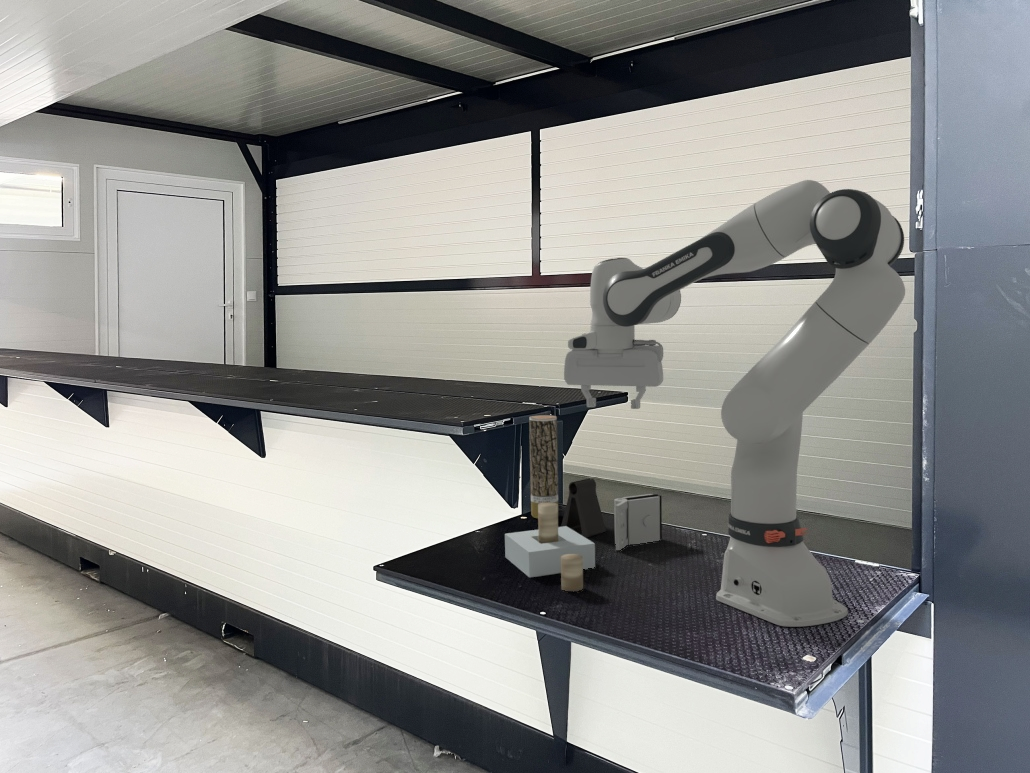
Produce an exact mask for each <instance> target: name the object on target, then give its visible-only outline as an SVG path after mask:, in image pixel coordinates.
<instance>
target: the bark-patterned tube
mask: <svg viewBox="0 0 1030 773" xmlns="http://www.w3.org/2000/svg"><path fill="white" fill-rule="evenodd" d="M528 421H529V423H528V424H529V425H528V426H529V427H528V428H529V430H528V431H529V469H530V470H529V472H530V473H529V474H530V476H529V477H530V480H529V481H530V510H531V511H530V514H531V516H532V518H534V519H537V520H538V504H540V503H546V502H550V503H556V504H558V505H559V471H558V470H559V469H558V468H559V467H558V466H559V465H558V460H559V459H558V417H557V416H556V415H550V414H549V415H547V414H545V415H544V414H541V415H540V414H539V415H532V416H529V419H528Z"/></svg>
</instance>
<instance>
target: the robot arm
mask: <svg viewBox="0 0 1030 773" xmlns="http://www.w3.org/2000/svg"><path fill="white" fill-rule="evenodd" d="M812 245H816V247H817V248H818V250H819V252H821V254H822V256H823V257H824V259H825V261H826V262H827V264H828V266H830V268H834V269H835V274H834V278H833V279H832V281H831V283H830V284H829V286H827V288H826V289H825V290H824V291H823V292H822V293H821V295H819V297H818V298H817V299H816V300H815V301H814V302H813V303H812V305H811V306H810V307H809V308H808V309H807V310H806V311H805V312H804V314H803V315H801V317H800V318H799V319H798V320H797V322H795V324H794V325H792V327H791V328H790V329H789V330H788V332H787V333H786V334H785V335H784V336H783V337H782V338H781V339H780V340H779V341H778V342H777V343H776V344H775V345H774V346H773V347H771V349H770V350H769V351H768V352H767V353H766V354H764V355H763V357H762V358H760V360H758V361H757V362H756V364H755V365H753V366H752V367H751V368H750V369H749V370H748V372H746V374H745V375H744V376H742V377H741V379H740V380H739V381H738V382H737V383H736V384H735V385H733V387H732V389H730V390H729V392H728V393H727V395H726V396H725V398H724V400H723V402H722V404H721V410H720V417H721V418H720V419H721V422H722V424H723V427H724V428H725V430H726V432H727V433H728V434H729V435H730V436H731V437H732V438H733V439H735V440H736V446H735V454H734V458H733V463H732V467H731V470H730V471H731V472H730V513H728V520H727V528H728V529H727V533H728V535H729V536H730V537H729V542H728V544H727V548H726V550H725V552H724V553H723V554H724V555H723V562H722V564H723V565H722V572H721V573H722V574H721V586H720V590H719V591H717V592H716V596H715V600H716V601H718V602H719V603H723V604H725V605H728V606H730V607H732V608H734V609H738V610H740V611H742V612H745V613H747V614H750V615H752V616H755V617H757V618H760V619H762V620H765V621H767V622H769V623H772V624H775V625H777V626H781V627H791V628H792V627H798V628H799V627H809V626H811V627H812V626H818V625H823V624H829V623H833V622H837V621H840V620H841V619H844V618H845V617H847V616H848V615H849V611H848V610H849V609H848V608H847V606H845V605H843V604H842V603H840V602H839V601H837V600H836V599H835V598H833V588H832V587H833V586H832V581H831V577H830V575H829V574H828V572H827V568H826V567H825V566H824V565H822V564H820V563H819V561H818V560H817V559H816V558H815V556H814V555H813V553H812V552H811V551H810V549H809V548H808V547H807V546H806V544H805V542H804V539H805V538H804V535H808V533H807V532H804V531H807V530H808V528H807V527H801V523H800V520H799V517H798V516H797V484H798V479H797V478H798V476H797V475H798V467H799V466H798V464H799V459H800V458H799V456H800V449H801V440H802V428H803V415H804V412H805V410H806V409H807V408H809V407H810V406H811V404H813V402H815V401H816V399H818V398H819V397H820V396H821V395H822V394H823V393H824V392H825V390H827V389H828V387H831V384H833V383H834V382H835V381H836V380H837V379H838V378H839V377H840V375H842V374H843V372H844V371H845V370H846V369H847V368H848V367H849V366H850V365H851V364H852V363H853V362H854V361H855V359H857V358H858V357H859V355H861V353H862V352H863V351H864V350H865V349H867V347H868V346H869V345H870V344H872V342H873V341H874V340H875V339H876V338H877V337H878V335H879V334H880V333H881V332H882V331H883V329H884V328H885V327H886V325H887V324H888V322H889V321H890V320H891V318H892V317H893V316H894V315H895V313H896V311H897V310H898V308H899V307H900V305H901V303H902V302H903V301H904V298H905V295H906V287H905V284H904V281H903V278H902V277H901V276H900V274H898V272H897V271H896V270H895V269H894V268H893V267H891V266H892V265H893V264H894V263H895V262H896V261H897V260H898V259H899V257H900V255H901V254H902V252H903V250H904V246H905V233H904V230H903V227H902V225H901V223H900V221H899V220H898V219H897V218H896V217H895V216H894V215H893V214H892V213H891V211H890V210H889V208H888V207H886V205H884V204H883V203H881V201H879V200H877V199H876V198H874V197H873V196H871V195H870V194H868V193H867V192H864V191H863V190H858V189H851V188H844V189H839V190H834V191H832V192H830V190H828V189H827V187H825V186H824V185H823V184H822V183H821V182H818V181H816V180H812V179H805V180H801V181H798V182H796V183H793V184H790V185H788V186H786V187H784V188H783V187H782V188H781V189H779V190H776V191H775V192H773V193H770V194H768V195H767V196H765V197H763V198H761V199H759V200H757V201H756V202H754V203H753V204H751V205H749V206H748V207H747V208H745V209H743V210H742V211H740V212H739V213H737V214H735V216H732V217H731V218H730V219H729V220H727V221H725V222H723V223H722V224H721V225H720V226H718V227H716V228H715V229H713V230H712V231H710V232H709V233H706V235H703V236H702V237H701V238H700V239H698V240H696V241H694V242H692V243H690V244H688V245H686V246H685V247H683V248H681V249H679V250H677V251H676V252H673V253H672V254H670V255H668V256H666V257H664V258H662V259H661V260H659V261H657V262H655V263H653V264H651V265H650V266H648V267H645V268H643V267H641V266H640V265H638V264H636V263H634V262H633V261H632V260H631V259H630V258H627V257H615V258H610V259H605V260H602V261H600V262H598V263H597V264H596V265H594V267H593V269H592V273H591V277H590V288H589V289H590V293H589V294H590V295H589V296H590V298H589V299H590V300H589V304H590V307H591V312H592V316H591V320H590V321H591V322H590V332H586V333H583V334H580V335H578V336H575V337H572V338H569V339H568V341H567V346H568V349H570V350H569V351H568V352H566V356H565V358H564V368H563V369H564V371H563V375H564V376H563V380H564V381H565V383H566V384H567V385H568V386H580V391H581V392H582V395H583V396H584V398H585V399H586V408H596V406H597V398H596V397H593V396H592V394H591V393H590V390H591V389H592V386H608V387H609V386H611V387H612V386H613V387H615V386H616V387H635V392H636V393H637V395H636V396H635V398H634V399H631V400H630V404H631V405H630V409H633V410H634V409H635V410H638V409H640V408H641V400H642V398H643V396H644V395H645V393H646V390H647V389H646V388H647V387H651V388H652V387H659V386H661V384H662V383H663V382H664V370H663V368H664V367H663V362H662V361H663V358H664V346H663V345H662V344H661V343H660V342H658V341H657V340H656V339H646V340H645V339H636V338H635V335H636V334H635V333H636V332H635V330H636V329H635V326H637V325H647V324H648V325H649V324H658V323H662V322H665V321H668V320H670V319H672V318H673V317H674V316H675V315H676V314H677V312H678V311H679V308H680V306H681V304H682V303H681V302H682V294H681V290H682V289H684V288H686V287H688V286H691V285H692V284H695V283H696V282H697V281H700V280H701V281H702V279H706V278H710V277H713V276H719V275H726V274H727V275H728V274H740V273H741V274H742V273H751V272H754V271H757V270H761V269H763V268H765V267H768V266H769V267H770V266H771V265H774V264H776V263H778V262H780V261H782V260H784V259H786V258H787V257H789V256H791V255H793V254H794V253H796V252H797V251H800V250H802V249H804V248H806V247H808V246H812Z"/></svg>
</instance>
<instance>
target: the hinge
mask: <svg viewBox="0 0 1030 773" xmlns="http://www.w3.org/2000/svg"><path fill="white" fill-rule="evenodd" d="M662 499H663V498H662V495H659V494H657V493H647V494H638V495H631V496H630V495H629V496H623V497H621V498H619V497H618V498H615V499H613V500H614V501H613V503H614V508H613V511H614V515H613V516H614V545H615V544H616V545H615V551H616V550H621V549H622V548H624V547H625V546H626V545H628V544H629V545H630V544H640V543H646V544H648V543H647V542H653V541H659V540H660V539H662V540H663V531H662V530H663V525H662V524H663V523H662V520H663V519H662V517H663V515H662V512H663V511H662ZM660 541H661V540H660ZM653 543H654V542H653ZM640 545H641V544H640ZM624 549H625V548H624ZM621 551H622V550H621Z"/></svg>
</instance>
